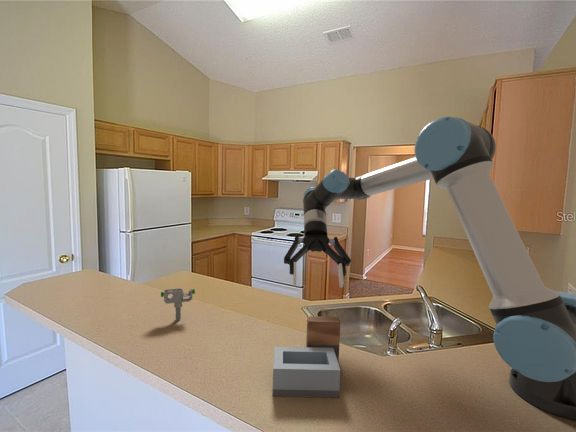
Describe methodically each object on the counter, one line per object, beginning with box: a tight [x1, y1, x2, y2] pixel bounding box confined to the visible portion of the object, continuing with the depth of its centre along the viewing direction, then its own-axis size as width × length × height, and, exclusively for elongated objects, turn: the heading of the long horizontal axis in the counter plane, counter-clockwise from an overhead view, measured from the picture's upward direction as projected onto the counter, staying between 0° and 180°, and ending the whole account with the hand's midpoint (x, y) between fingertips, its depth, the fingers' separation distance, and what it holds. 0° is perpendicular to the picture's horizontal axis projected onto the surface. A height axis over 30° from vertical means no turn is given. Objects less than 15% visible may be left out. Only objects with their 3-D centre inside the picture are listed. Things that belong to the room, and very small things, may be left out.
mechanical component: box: [160, 287, 196, 322], centre depth 98 cm, size 3×10×10 cm, turn 112°
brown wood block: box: [305, 315, 341, 364], centre depth 77 cm, size 3×8×11 cm, turn 91°
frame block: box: [272, 346, 341, 398], centre depth 68 cm, size 9×14×6 cm, turn 91°
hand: (318, 284), depth 87 cm, fingers open, 13 cm apart
